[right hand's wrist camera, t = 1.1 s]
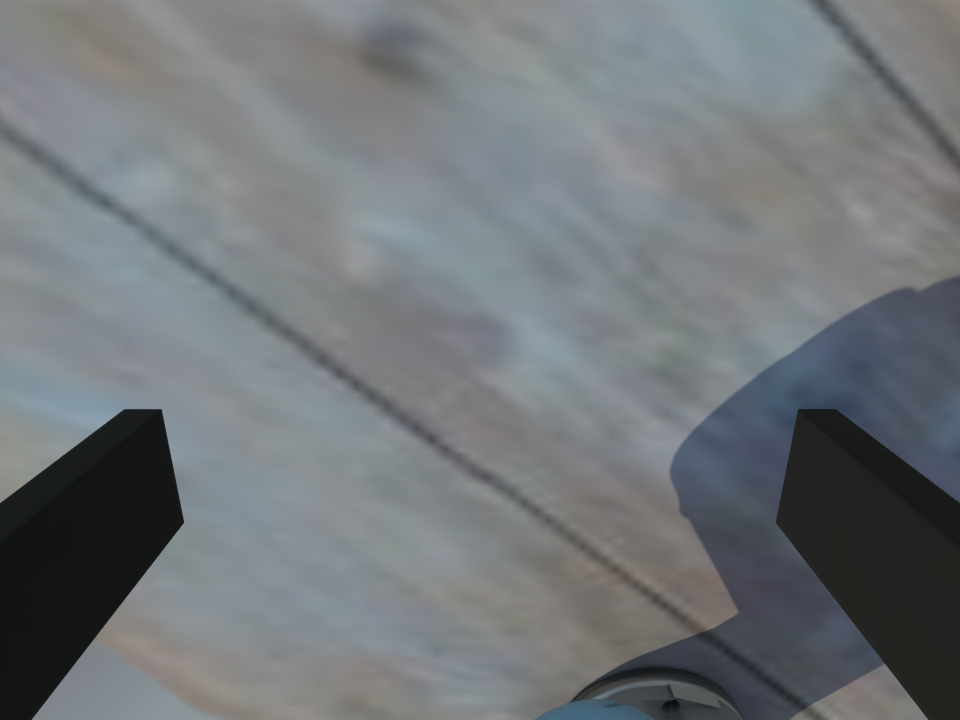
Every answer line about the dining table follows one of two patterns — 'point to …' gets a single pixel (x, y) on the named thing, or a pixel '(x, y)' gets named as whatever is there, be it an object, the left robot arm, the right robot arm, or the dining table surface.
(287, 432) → the dining table surface
